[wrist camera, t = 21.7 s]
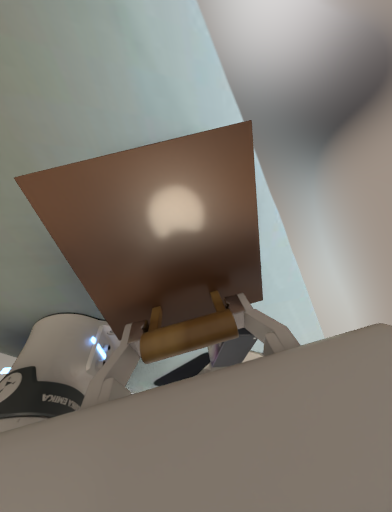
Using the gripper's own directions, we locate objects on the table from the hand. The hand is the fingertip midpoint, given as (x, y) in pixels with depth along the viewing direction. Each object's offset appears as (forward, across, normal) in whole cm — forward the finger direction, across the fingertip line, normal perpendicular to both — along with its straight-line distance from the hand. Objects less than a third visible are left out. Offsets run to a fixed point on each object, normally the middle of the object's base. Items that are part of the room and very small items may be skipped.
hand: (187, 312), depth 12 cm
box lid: (+3, 0, +4) cm, 5 cm away
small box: (+16, +4, -21) cm, 27 cm away
